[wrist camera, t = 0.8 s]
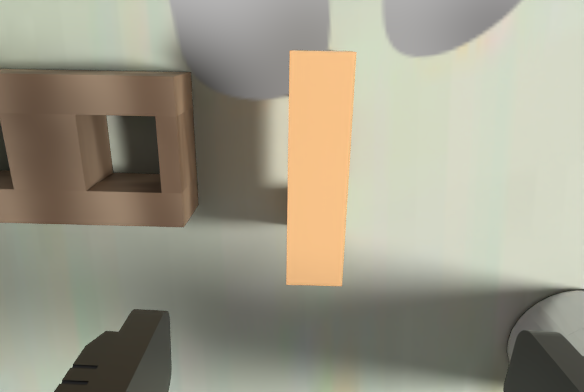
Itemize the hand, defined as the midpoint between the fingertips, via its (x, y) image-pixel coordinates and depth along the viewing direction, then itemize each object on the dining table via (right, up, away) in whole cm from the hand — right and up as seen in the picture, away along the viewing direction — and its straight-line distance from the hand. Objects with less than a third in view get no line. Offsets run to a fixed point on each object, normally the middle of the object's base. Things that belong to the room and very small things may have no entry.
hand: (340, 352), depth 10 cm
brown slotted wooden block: (-16, +7, +19) cm, 26 cm away
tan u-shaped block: (0, +7, +19) cm, 20 cm away
